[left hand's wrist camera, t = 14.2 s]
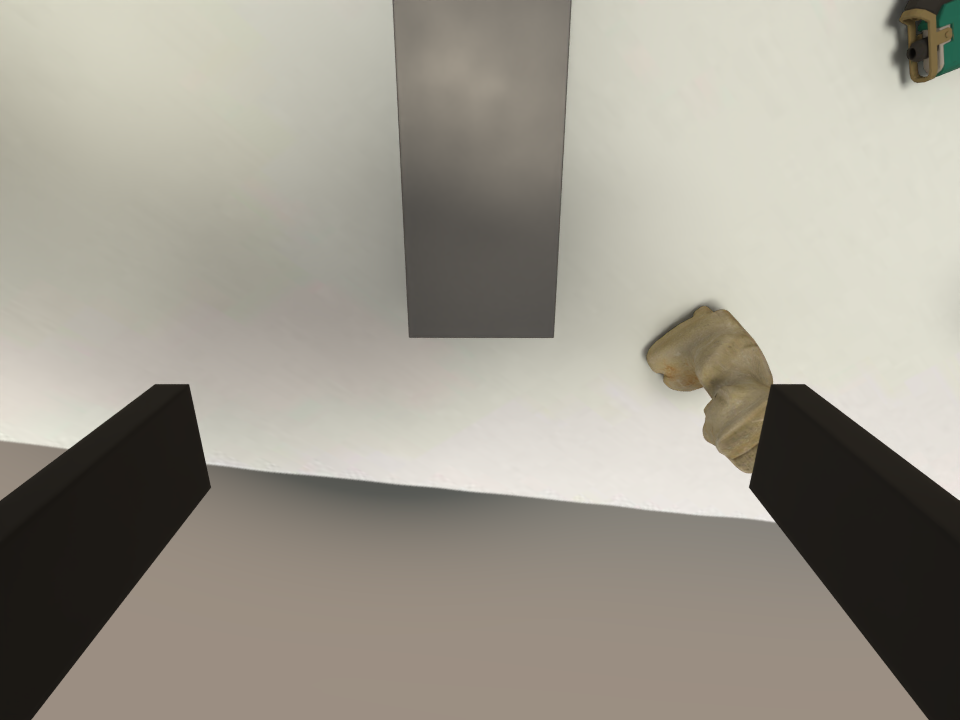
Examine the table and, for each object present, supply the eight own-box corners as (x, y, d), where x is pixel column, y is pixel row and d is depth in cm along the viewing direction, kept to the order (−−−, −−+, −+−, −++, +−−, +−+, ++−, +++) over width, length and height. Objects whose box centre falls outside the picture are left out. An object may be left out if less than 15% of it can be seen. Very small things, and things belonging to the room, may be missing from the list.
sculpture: (630, 345, 46) (695, 435, 32) (702, 286, 44) (805, 354, 30) (672, 391, 47) (752, 496, 33) (744, 336, 45) (860, 423, 32)
